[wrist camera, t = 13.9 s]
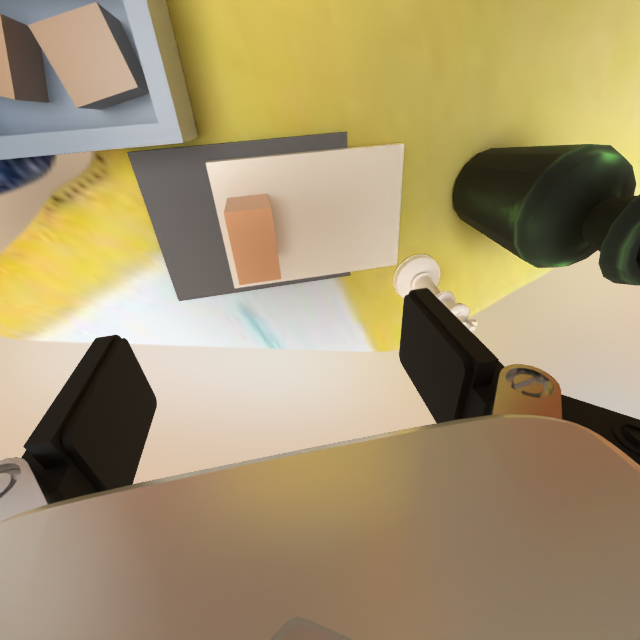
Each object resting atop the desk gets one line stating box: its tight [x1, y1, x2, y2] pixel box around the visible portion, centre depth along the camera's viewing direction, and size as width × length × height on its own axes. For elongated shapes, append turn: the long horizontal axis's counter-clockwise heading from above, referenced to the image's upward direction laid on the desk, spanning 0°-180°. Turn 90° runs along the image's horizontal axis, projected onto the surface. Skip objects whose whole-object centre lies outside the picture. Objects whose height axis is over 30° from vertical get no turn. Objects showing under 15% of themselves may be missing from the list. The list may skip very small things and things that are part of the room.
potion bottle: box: [453, 144, 640, 285], centre depth 22 cm, size 8×8×18 cm
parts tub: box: [0, 0, 199, 160], centre depth 17 cm, size 14×9×7 cm, turn 94°
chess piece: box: [393, 254, 478, 331], centre depth 29 cm, size 5×5×10 cm
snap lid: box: [206, 143, 404, 288], centre depth 25 cm, size 15×10×6 cm, turn 94°
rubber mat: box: [127, 132, 350, 301], centre depth 27 cm, size 16×12×1 cm
